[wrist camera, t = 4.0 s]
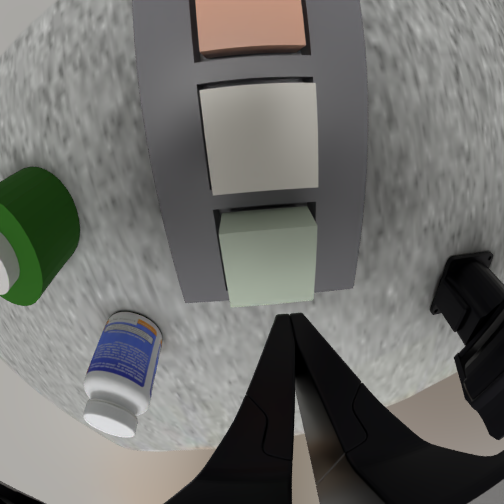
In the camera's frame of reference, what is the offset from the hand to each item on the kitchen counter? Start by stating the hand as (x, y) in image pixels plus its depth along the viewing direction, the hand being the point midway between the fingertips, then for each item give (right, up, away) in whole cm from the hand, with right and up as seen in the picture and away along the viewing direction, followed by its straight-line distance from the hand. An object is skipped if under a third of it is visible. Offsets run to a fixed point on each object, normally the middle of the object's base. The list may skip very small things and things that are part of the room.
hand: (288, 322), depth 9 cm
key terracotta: (-1, +14, +1) cm, 14 cm away
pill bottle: (-12, -5, +14) cm, 19 cm away
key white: (-1, +8, +4) cm, 9 cm away
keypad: (-1, +9, +6) cm, 11 cm away
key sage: (0, +3, +7) cm, 8 cm away
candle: (-18, +5, +8) cm, 20 cm away
